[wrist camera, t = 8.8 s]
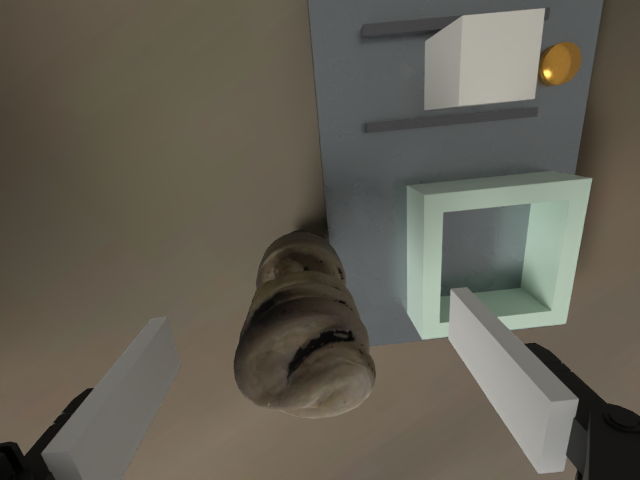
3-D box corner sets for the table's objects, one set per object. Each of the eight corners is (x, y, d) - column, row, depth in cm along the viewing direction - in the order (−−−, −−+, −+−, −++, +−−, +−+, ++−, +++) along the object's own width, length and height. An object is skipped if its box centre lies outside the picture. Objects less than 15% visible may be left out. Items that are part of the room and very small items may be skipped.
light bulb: (353, 239, 26) (417, 379, 11) (311, 291, 27) (322, 474, 13) (293, 197, 24) (282, 297, 10) (252, 253, 26) (192, 412, 11)
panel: (337, 340, 29) (339, 357, 26) (294, -150, 18) (293, -186, 16) (540, 318, 29) (558, 333, 27) (615, -175, 18) (654, -213, 16)
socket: (407, 313, 27) (422, 339, 23) (406, 185, 23) (424, 195, 20) (533, 299, 27) (565, 323, 24) (551, 170, 23) (592, 178, 20)
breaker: (424, 110, 22) (458, 106, 17) (425, 41, 20) (462, 15, 16) (484, 104, 22) (534, 98, 17) (488, 35, 20) (545, 8, 16)
